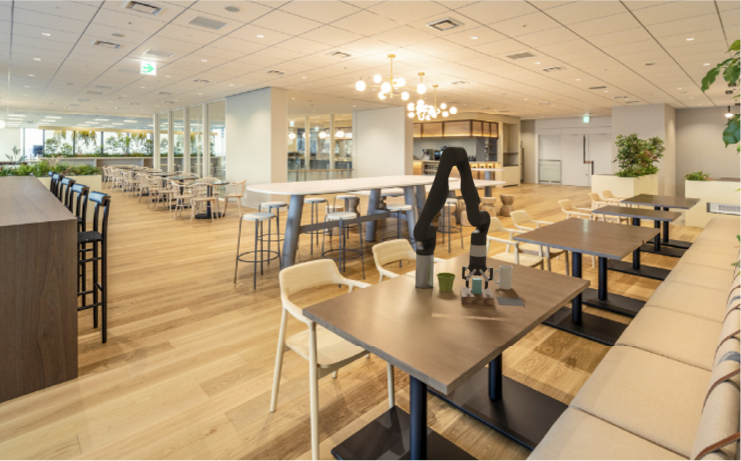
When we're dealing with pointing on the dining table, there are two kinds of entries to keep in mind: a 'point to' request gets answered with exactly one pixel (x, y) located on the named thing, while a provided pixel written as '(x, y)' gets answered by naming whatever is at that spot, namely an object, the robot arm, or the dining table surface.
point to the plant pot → (446, 281)
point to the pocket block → (476, 297)
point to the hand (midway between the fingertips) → (476, 288)
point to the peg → (476, 285)
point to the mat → (510, 301)
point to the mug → (504, 276)
